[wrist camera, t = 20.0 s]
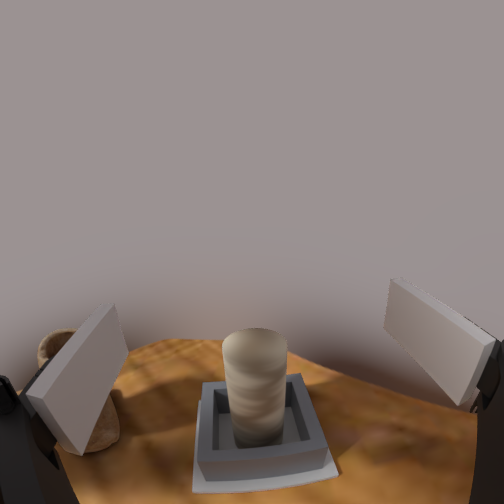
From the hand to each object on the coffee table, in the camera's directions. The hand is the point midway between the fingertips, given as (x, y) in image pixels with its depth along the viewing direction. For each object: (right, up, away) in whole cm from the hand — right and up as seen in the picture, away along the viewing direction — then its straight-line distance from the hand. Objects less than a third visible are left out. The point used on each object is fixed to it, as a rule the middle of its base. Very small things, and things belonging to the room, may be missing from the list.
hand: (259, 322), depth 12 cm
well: (+1, -21, +16) cm, 26 cm away
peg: (0, -20, +16) cm, 26 cm away
